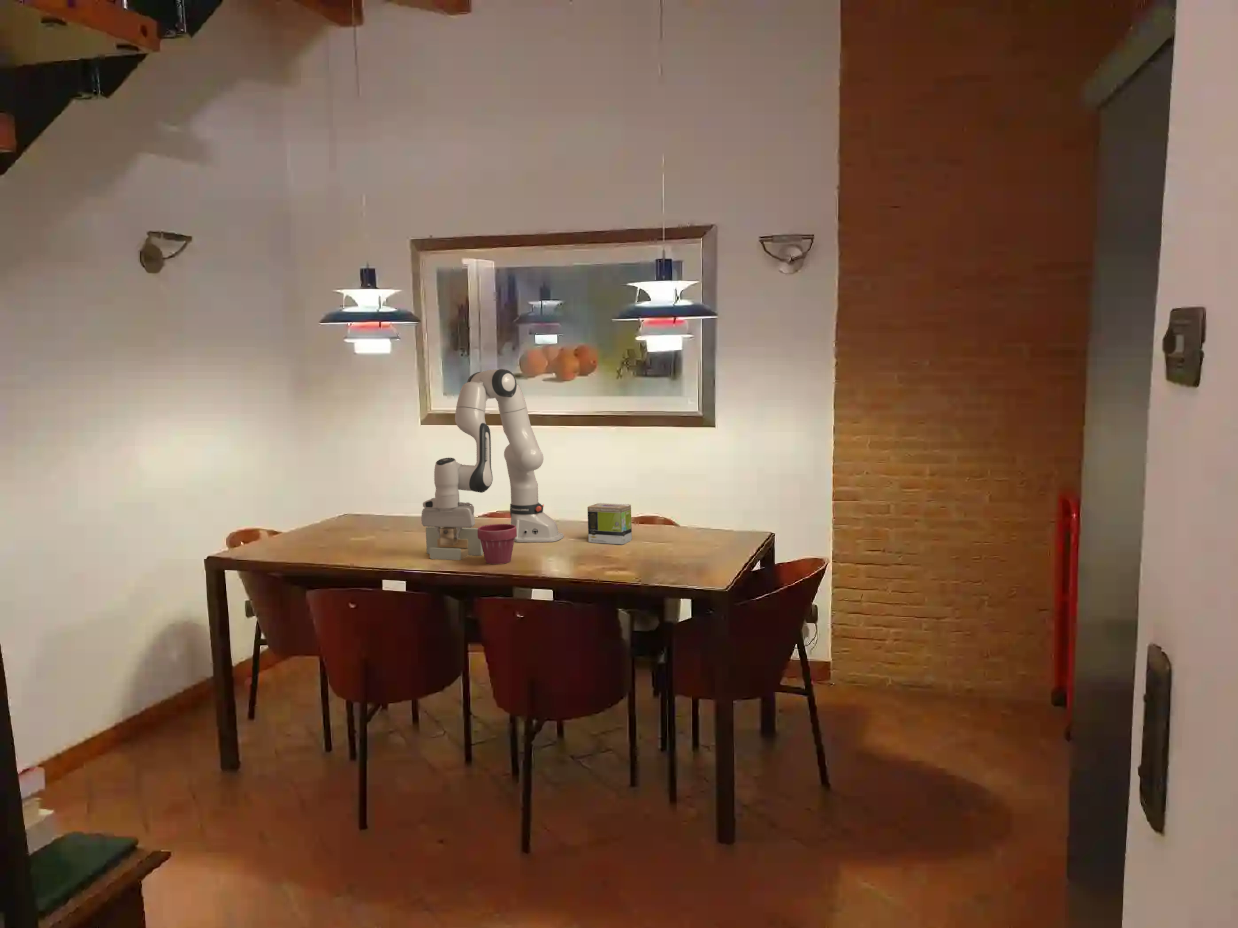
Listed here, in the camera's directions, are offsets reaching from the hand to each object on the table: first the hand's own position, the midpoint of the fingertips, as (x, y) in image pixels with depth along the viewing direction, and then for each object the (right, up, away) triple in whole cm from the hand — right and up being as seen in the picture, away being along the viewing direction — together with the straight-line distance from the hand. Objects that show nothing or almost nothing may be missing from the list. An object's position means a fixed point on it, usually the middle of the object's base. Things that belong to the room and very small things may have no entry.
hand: (449, 538), depth 347 cm
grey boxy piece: (0, -7, +2) cm, 7 cm away
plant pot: (+19, -8, -8) cm, 22 cm away
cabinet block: (0, -2, 0) cm, 2 cm away
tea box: (+60, -3, +23) cm, 64 cm away
